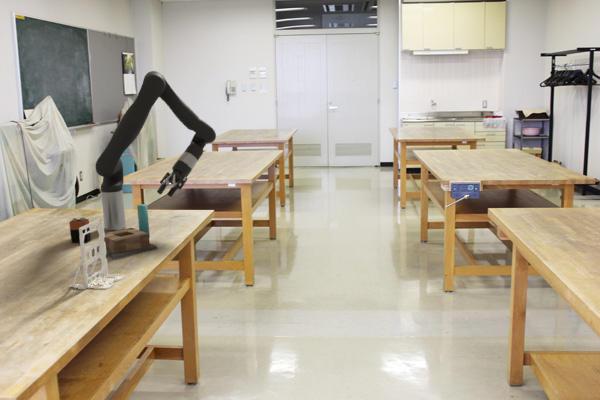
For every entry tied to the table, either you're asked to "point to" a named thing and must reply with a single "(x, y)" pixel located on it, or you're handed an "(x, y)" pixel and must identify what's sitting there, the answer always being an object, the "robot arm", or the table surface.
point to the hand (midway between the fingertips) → (163, 194)
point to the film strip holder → (100, 254)
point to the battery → (74, 230)
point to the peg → (143, 218)
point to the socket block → (126, 243)
